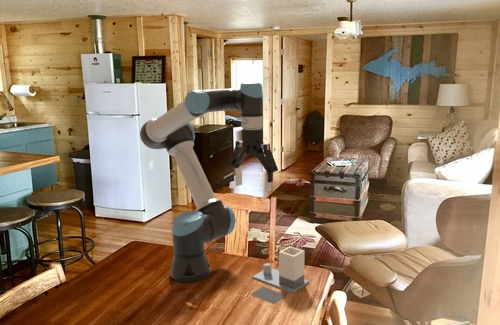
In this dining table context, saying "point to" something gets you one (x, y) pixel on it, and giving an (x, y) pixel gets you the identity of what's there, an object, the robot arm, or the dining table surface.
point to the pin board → (275, 278)
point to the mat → (268, 295)
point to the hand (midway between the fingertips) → (253, 188)
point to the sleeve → (291, 267)
